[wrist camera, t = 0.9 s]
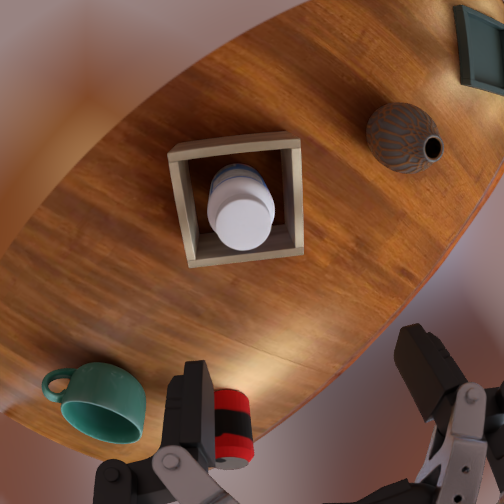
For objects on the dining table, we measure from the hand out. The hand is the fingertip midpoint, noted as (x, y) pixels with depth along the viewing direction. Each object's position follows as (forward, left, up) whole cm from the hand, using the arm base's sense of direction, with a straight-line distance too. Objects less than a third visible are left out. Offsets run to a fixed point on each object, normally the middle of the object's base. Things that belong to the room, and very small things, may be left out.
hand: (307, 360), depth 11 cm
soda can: (+34, -8, -22) cm, 42 cm away
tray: (-18, +30, -22) cm, 41 cm away
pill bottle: (-1, -2, -22) cm, 22 cm away
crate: (-1, -2, -22) cm, 22 cm away
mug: (+25, -27, -22) cm, 43 cm away
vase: (-6, +14, -22) cm, 27 cm away
